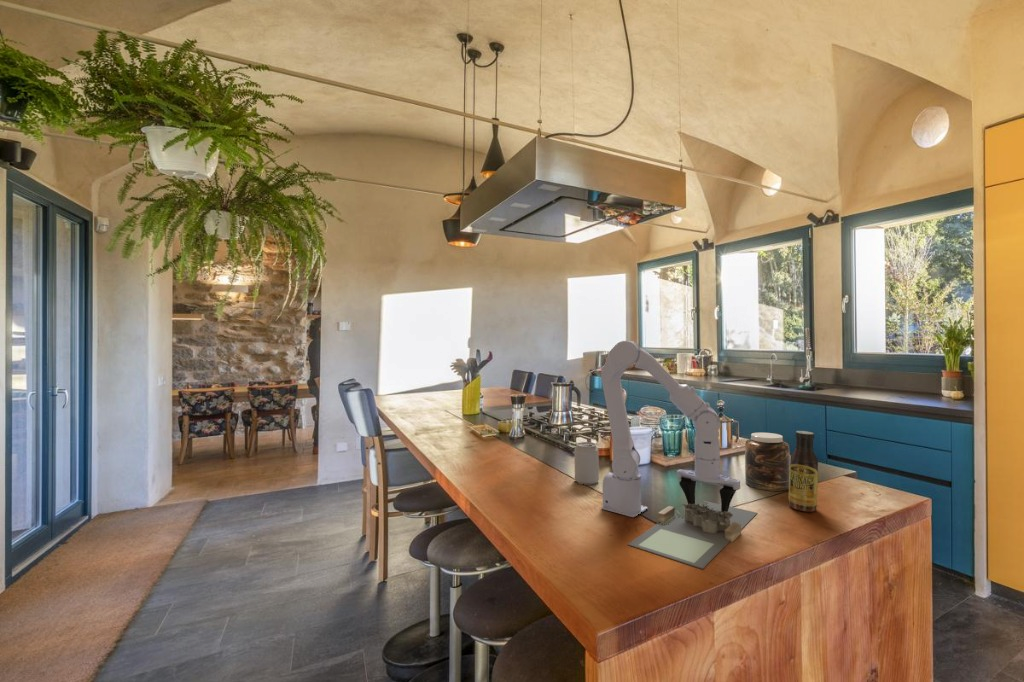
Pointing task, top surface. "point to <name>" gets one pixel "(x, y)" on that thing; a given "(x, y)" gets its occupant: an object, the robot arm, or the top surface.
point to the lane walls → (730, 532)
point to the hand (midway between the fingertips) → (707, 512)
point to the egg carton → (707, 517)
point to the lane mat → (689, 538)
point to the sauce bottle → (803, 474)
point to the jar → (767, 462)
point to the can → (586, 463)
